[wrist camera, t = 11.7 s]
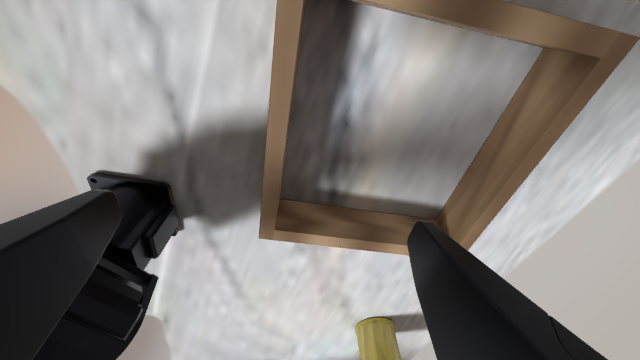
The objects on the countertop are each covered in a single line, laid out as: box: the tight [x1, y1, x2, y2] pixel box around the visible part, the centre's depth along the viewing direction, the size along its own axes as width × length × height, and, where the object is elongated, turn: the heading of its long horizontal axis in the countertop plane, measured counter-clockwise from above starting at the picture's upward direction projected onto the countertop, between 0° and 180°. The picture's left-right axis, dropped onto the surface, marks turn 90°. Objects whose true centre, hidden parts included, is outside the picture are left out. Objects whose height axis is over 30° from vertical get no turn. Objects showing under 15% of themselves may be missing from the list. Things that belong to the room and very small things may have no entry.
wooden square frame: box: [259, 0, 640, 255], centre depth 18 cm, size 18×18×4 cm
